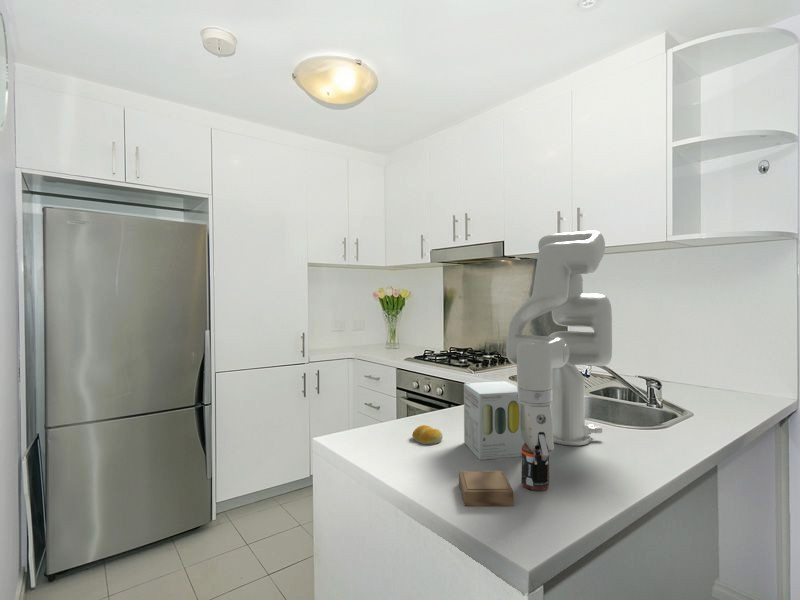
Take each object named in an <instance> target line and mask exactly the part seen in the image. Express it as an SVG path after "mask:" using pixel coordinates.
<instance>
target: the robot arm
mask: <svg viewBox="0 0 800 600" xmlns="http://www.w3.org/2000/svg"><path fill="white" fill-rule="evenodd" d="M537 244H538V253H537V257H536V258H537V259H536V266H535V272H534V281H533V288H532V293H531V296H530V297H529V298H528V299H527V300H526V301H524V303H523V304H521V305H520V306H519V308H518V309H517V310H516V312H514V315H513V316H512V318H511V320H510V322H509V327H508V332H507V339H506V347H505V352H506V353H505V354H506V358H507V360H508V362H509V363H510V364H512V365H515V366H516V387H517V402H519V403H521V414H520V429H521V437H522V439H523V440H524V443H526V445H527V446H528V447H529V448H530V449H531V450H532V454H533V463H532V481H533V482H547V465H548V462H547V459H548V450H549V452H553V451H554V449H555V448H554V444H559V445H564V446H573V447H575V446H578V447H579V446H585V445H588V444H589V443H591V441H592V440H591V439H592V437H591V435H592V434H602V433H603V428H602V426H594V424H587V423H586V419H585V418H586V412H585V411H586V409H585V408H586V406H585V403H586V401H585V400H586V399H585V398H586V397H585V393H586V392H585V391H586V390H585V389H586V388H585V385H586V384H585V383H586V382H585V378H584V376H583V374H582V372H581V371H580V370H579V368H577V366H592V367H593V366H594V367H605V366H607V365H609V364H610V362H611V360H612V356H613V313H612V306H611V305H612V304H611V301H610V299H609V298H608V297H607V296H606V295H604V294H601V293H584V290H583V288H584V287H583V285H584V284H583V281H584V280H583V275H590V274H593V273H595V272H596V271H597V269H598V267H599V266H600V263H601V261H602V260H603V257H604V254H605V249H606V241H605V238H604V235H603V234H602V233H601V232H600V231H597V230H586V231H585V230H584V231H574V232H571V231H570V232H561V233H560V232H558V233H552V234H547V235H544V236H542V237H541V238H540V239H539V241H538V243H537ZM550 312H551V318H552V321H553V323H555V325H557V326H562V327H571V328H572V327H573V328H574V327H577V328H579V327H580V328H591V329H592V330H593V331H578V330H576V331H574V330H573V331H572V330H571V331H570V330H559V331H554V332H552V333H551V334H549V335H548V336H546V335H534V334H533V335H531V334H529V335H527V334H523V333H524V331H525V329H526V326H527V325H528V324H529V323H530V322H531V321H533V320H534V319H536V318H538V317H540V316H542V315H544V314H547V313H550ZM535 447H540V449H535ZM547 448H548V450H547ZM536 452H540V455H538V456H536Z"/></svg>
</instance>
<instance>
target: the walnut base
mask: <svg viewBox="0 0 800 600" xmlns="http://www.w3.org/2000/svg"><path fill="white" fill-rule="evenodd" d="M458 485H459V490H460V494H461V497H462V501H463V505H464V507H514V505H515V504H514V489H513V488H512V486H511V484H510V482H509V480H508V478H507V476H506V474H505V472H504V470H459V471H458Z"/></svg>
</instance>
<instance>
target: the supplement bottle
mask: <svg viewBox="0 0 800 600" xmlns="http://www.w3.org/2000/svg"><path fill="white" fill-rule="evenodd" d="M535 449H540V447H535ZM547 450H548V448H547ZM521 454H522V456H521V471H520V473H521V478H520V479H521V484H522V486H523V487H525V488H526V489H528V490H531V491H537V492H538V491H541V492H542V491H546V490H547V489H548V488H549V486H550V451H549V450H548V459H547V462H548V465H547V482H533V481H532V463H533V454H532V450H531V449H530V448H529V447H528V446H527V445H526V443H524V444H523V445H522V453H521ZM538 455H540V452H536V456H538Z"/></svg>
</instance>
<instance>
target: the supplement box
mask: <svg viewBox="0 0 800 600" xmlns="http://www.w3.org/2000/svg"><path fill="white" fill-rule="evenodd" d="M520 414H521V403H519V402H517V385H514V384H513V383H510V382H508V381H506V380H503V381H483V382H470V383H463V438H464V439H463V442H464V444H465V445H466V446H467V447H468V448H469V450H471V452H472V453H473V455H475V456H476V457H477V459H479V460H480V461H481V460H483V461H484V460H492V459H504V458H505V459H507V458H519V457H522V454H521V453H522V445H523V444H524V440H523V439H522V437H521V429H520Z"/></svg>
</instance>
